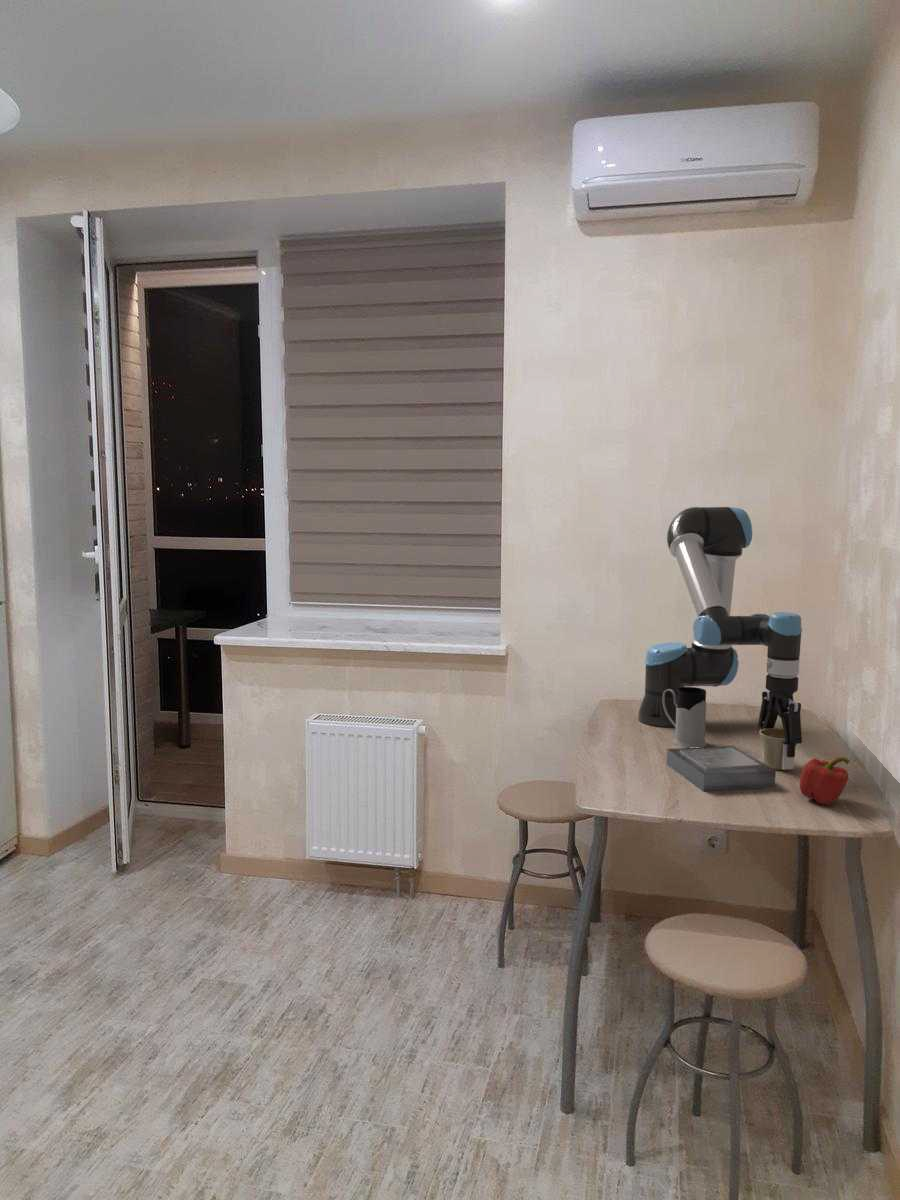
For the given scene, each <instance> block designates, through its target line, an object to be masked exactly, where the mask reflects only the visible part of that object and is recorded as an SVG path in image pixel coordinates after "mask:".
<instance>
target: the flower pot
mask: <svg viewBox="0 0 900 1200" xmlns="http://www.w3.org/2000/svg"><path fill="white" fill-rule="evenodd" d="M759 735H760V739H761V741H762V750H763V751H764V758H763V759H764V764H765V765H767V766H769V767H771V768H772V769H774V770H776V771H777V770H778V771H779V770H780V771H784V770H783V769H782V758H783V742H786V741H785V736H784V730H783V728H775V727H774V728H768V729H762V728H761V729H760V730H759ZM787 770H788V769H786V770H785V771H787Z"/></svg>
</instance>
